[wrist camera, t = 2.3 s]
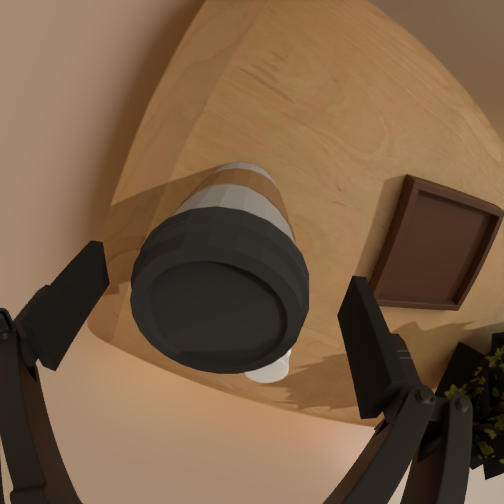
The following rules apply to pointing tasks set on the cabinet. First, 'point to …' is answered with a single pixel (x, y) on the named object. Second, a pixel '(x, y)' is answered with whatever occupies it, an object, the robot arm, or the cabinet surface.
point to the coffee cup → (223, 276)
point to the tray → (434, 247)
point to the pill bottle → (271, 371)
